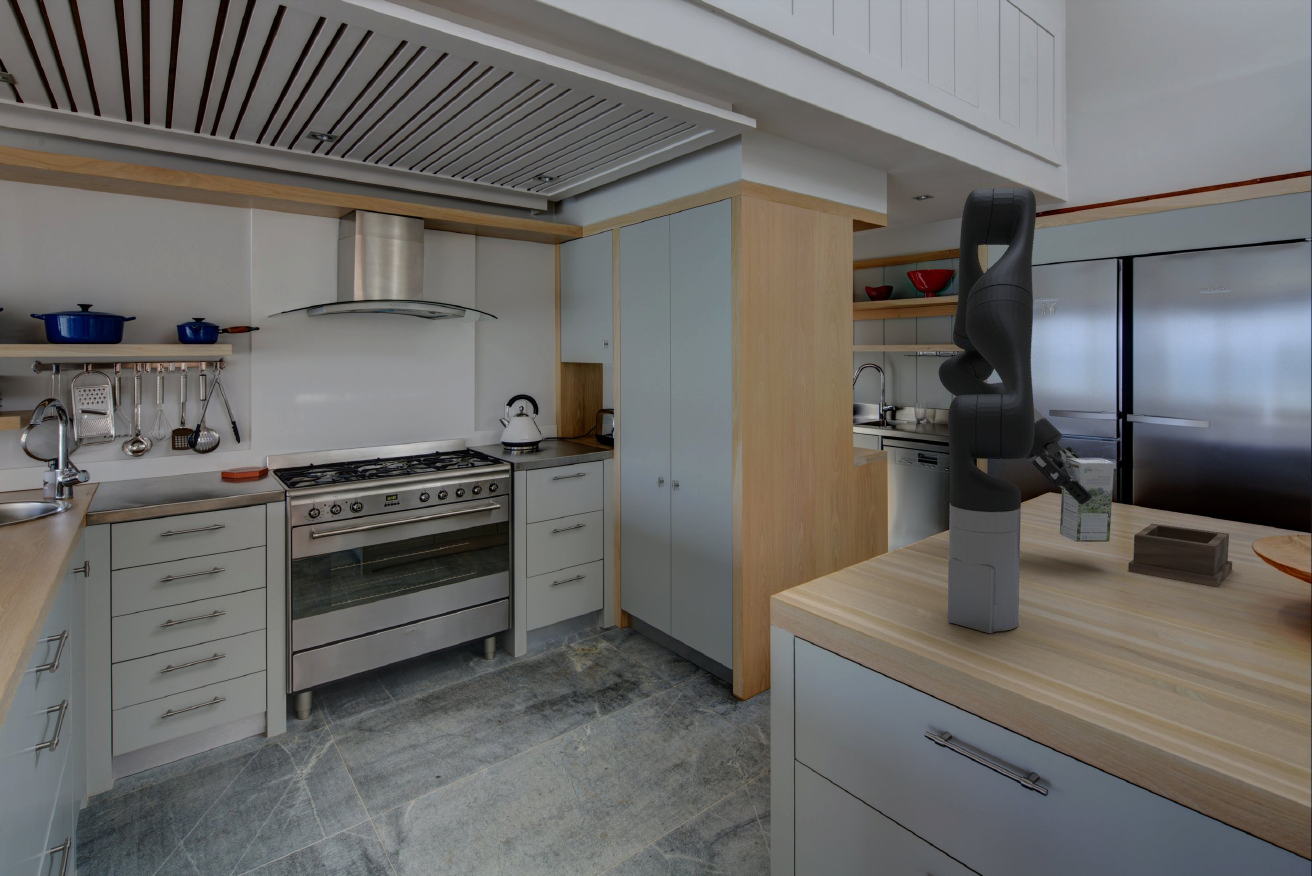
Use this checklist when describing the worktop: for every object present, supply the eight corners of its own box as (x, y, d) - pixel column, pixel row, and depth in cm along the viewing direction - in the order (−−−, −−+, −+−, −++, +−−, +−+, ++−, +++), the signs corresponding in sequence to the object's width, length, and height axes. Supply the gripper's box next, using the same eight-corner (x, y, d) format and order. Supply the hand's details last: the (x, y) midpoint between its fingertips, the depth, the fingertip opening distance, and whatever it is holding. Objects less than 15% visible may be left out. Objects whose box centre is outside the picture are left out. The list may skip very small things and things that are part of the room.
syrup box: (1091, 534, 120) (1094, 456, 118) (1111, 542, 114) (1114, 461, 113) (1059, 534, 120) (1061, 457, 119) (1076, 542, 114) (1079, 461, 113)
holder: (1216, 586, 105) (1218, 547, 105) (1128, 571, 114) (1129, 535, 114) (1231, 569, 113) (1233, 533, 112) (1147, 556, 122) (1149, 522, 121)
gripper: (1027, 419, 116) (1100, 490, 108) (1056, 414, 125) (1125, 479, 118) (995, 446, 121) (1063, 516, 113) (1026, 440, 130) (1091, 504, 122)
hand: (1095, 497), depth 115 cm, fingers closed on syrup box, 8 cm apart
